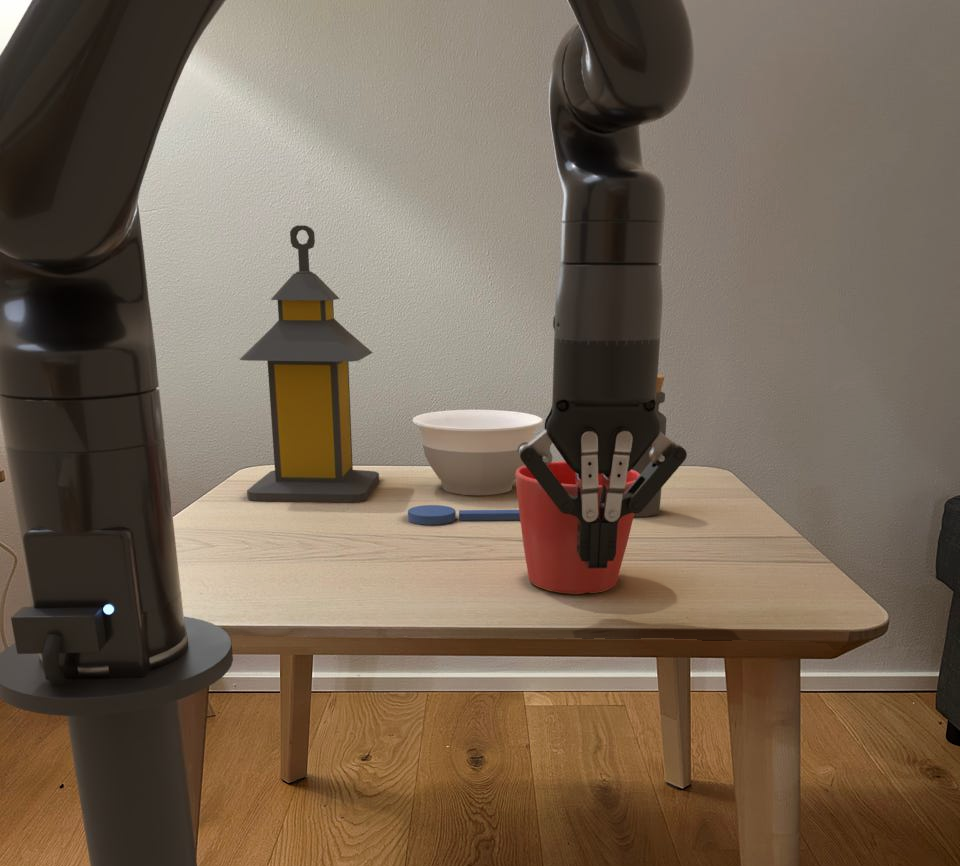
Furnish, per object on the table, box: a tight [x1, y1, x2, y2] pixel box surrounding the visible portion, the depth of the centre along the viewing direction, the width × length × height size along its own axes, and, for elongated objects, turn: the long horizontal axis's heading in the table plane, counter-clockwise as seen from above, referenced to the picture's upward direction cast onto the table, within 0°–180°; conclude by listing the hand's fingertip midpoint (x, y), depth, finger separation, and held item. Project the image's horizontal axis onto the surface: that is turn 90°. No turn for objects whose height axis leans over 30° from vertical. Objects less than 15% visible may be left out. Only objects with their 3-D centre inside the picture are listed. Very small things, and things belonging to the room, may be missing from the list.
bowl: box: [411, 409, 544, 496], centre depth 120 cm, size 16×16×9 cm
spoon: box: [407, 504, 520, 526], centre depth 106 cm, size 18×5×1 cm, turn 94°
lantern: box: [239, 224, 380, 503], centre depth 115 cm, size 14×14×30 cm
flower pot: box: [515, 461, 640, 595], centre depth 84 cm, size 11×11×10 cm
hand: (595, 565), depth 75 cm, fingers closed
